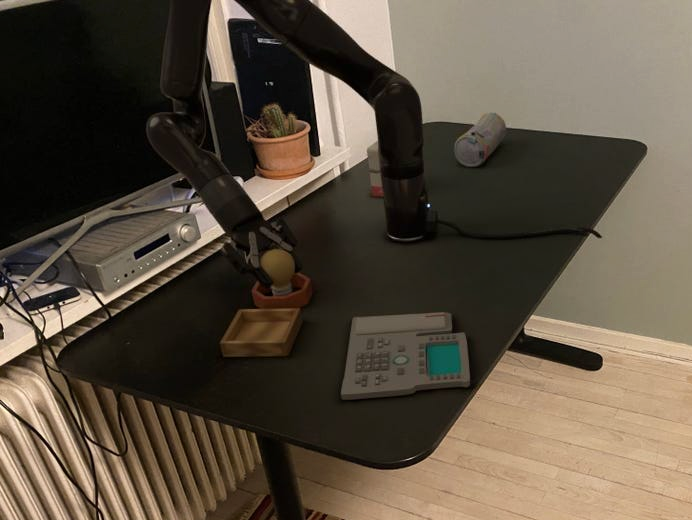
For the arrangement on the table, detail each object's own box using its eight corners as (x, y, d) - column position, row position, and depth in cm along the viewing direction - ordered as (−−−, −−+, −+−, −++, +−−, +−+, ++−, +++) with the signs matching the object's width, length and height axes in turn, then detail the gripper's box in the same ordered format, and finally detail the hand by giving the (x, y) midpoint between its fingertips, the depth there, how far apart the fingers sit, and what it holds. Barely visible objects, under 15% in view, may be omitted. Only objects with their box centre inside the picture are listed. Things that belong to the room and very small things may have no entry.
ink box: (389, 198, 178) (384, 150, 171) (371, 196, 179) (365, 149, 173) (403, 185, 185) (398, 139, 178) (386, 183, 186) (380, 137, 179)
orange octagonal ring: (316, 285, 143) (313, 271, 141) (304, 311, 134) (301, 297, 133) (264, 286, 143) (261, 272, 141) (250, 312, 135) (246, 298, 133)
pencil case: (483, 170, 192) (482, 134, 186) (453, 167, 194) (451, 131, 189) (508, 145, 208) (507, 111, 202) (479, 142, 210) (478, 109, 205)
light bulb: (307, 292, 140) (298, 245, 134) (289, 309, 135) (279, 261, 130) (278, 288, 142) (268, 241, 136) (260, 304, 137) (249, 256, 131)
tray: (302, 321, 131) (300, 308, 130) (288, 356, 122) (285, 342, 121) (242, 322, 132) (239, 309, 130) (223, 357, 123) (219, 343, 121)
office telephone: (350, 310, 129) (462, 302, 130) (352, 323, 131) (463, 315, 131) (339, 387, 110) (471, 377, 111) (342, 401, 111) (471, 391, 112)
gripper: (203, 208, 127) (261, 285, 127) (267, 182, 136) (321, 254, 137) (192, 229, 132) (248, 303, 133) (255, 203, 142) (306, 272, 143)
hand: (285, 278), depth 135 cm, fingers closed on light bulb, 6 cm apart
